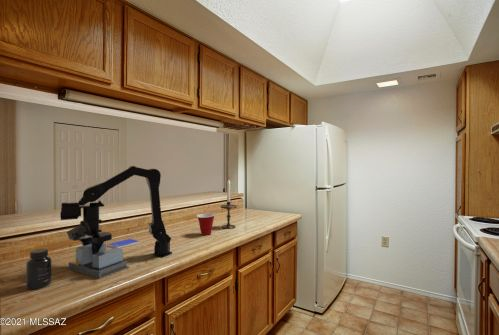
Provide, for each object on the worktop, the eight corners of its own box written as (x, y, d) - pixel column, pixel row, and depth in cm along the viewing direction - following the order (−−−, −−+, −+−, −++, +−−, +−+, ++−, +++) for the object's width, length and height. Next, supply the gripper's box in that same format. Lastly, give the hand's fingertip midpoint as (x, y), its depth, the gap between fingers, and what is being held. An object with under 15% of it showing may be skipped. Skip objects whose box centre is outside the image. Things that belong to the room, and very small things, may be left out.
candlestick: (237, 228, 176) (238, 175, 176) (221, 229, 174) (221, 175, 174) (235, 225, 187) (235, 174, 187) (219, 225, 185) (219, 174, 184)
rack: (98, 259, 119) (98, 242, 119) (129, 267, 109) (129, 249, 109) (67, 268, 108) (67, 249, 107) (99, 278, 98) (99, 258, 98)
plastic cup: (195, 232, 166) (195, 213, 165) (213, 231, 169) (213, 212, 169) (197, 237, 155) (197, 216, 155) (216, 235, 159) (216, 215, 158)
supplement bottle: (21, 288, 90) (21, 252, 90) (43, 280, 97) (43, 246, 97) (34, 291, 88) (34, 254, 88) (56, 283, 94) (56, 248, 94)
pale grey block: (99, 257, 117) (100, 241, 116) (105, 259, 115) (105, 243, 115) (75, 265, 108) (75, 248, 108) (81, 267, 106) (81, 249, 106)
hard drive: (116, 246, 134) (138, 240, 144) (107, 243, 138) (129, 238, 148) (116, 249, 134) (138, 243, 144) (107, 246, 138) (129, 241, 148)
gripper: (57, 219, 108) (57, 258, 108) (84, 224, 99) (84, 266, 100) (85, 214, 118) (85, 250, 118) (112, 218, 109) (112, 257, 109)
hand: (91, 255), depth 111 cm, fingers open, 4 cm apart
